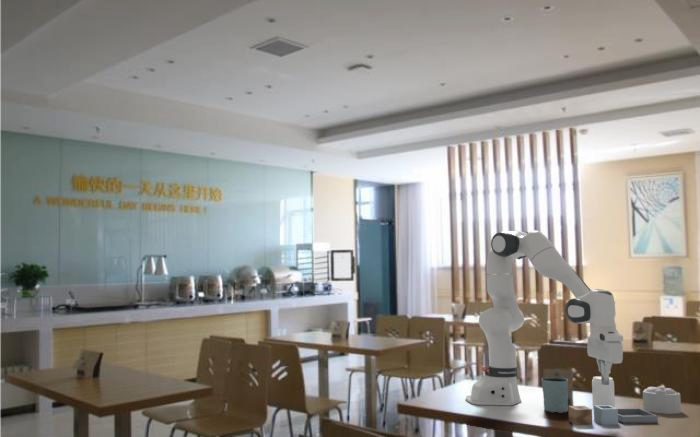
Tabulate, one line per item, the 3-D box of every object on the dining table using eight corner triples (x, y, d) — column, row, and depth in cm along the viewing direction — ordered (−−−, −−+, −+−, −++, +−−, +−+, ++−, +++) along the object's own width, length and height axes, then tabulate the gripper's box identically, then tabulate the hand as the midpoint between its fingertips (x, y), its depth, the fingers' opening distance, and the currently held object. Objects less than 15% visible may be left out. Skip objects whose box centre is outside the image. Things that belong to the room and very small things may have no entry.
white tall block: (616, 411, 242) (615, 379, 243) (594, 410, 244) (593, 379, 245) (612, 406, 250) (611, 376, 251) (591, 405, 252) (590, 375, 253)
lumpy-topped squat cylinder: (645, 406, 251) (644, 384, 252) (681, 409, 245) (680, 387, 245) (642, 411, 242) (641, 388, 243) (680, 415, 236) (679, 392, 236)
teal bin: (565, 414, 238) (564, 382, 238) (539, 411, 243) (538, 379, 244) (571, 409, 246) (571, 378, 247) (545, 406, 251) (545, 375, 252)
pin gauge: (610, 384, 225) (609, 359, 226) (603, 384, 225) (602, 359, 226) (607, 383, 228) (606, 358, 228) (600, 383, 228) (599, 358, 228)
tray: (622, 423, 223) (622, 416, 223) (606, 415, 235) (606, 408, 235) (657, 423, 224) (657, 415, 224) (640, 415, 236) (639, 408, 236)
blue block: (602, 425, 222) (601, 409, 223) (594, 420, 228) (593, 405, 229) (618, 424, 223) (617, 408, 223) (609, 420, 229) (609, 405, 229)
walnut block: (576, 425, 221) (575, 409, 222) (568, 421, 227) (568, 405, 228) (592, 425, 222) (592, 409, 222) (584, 421, 228) (584, 405, 228)
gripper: (582, 331, 238) (583, 368, 237) (608, 337, 218) (609, 377, 216) (598, 331, 238) (599, 367, 237) (625, 337, 218) (627, 377, 217)
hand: (604, 372), depth 227 cm, fingers closed on pin gauge, 3 cm apart
